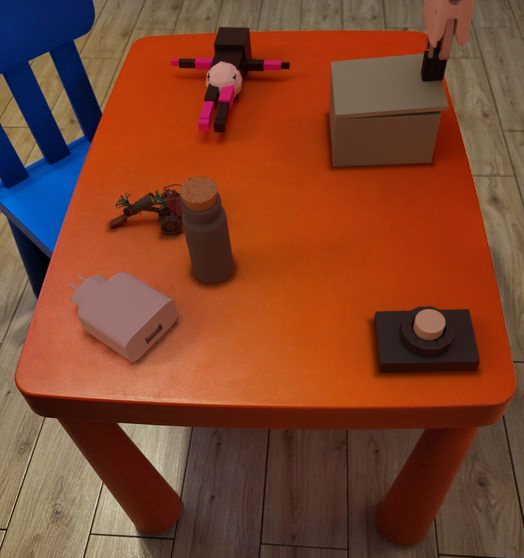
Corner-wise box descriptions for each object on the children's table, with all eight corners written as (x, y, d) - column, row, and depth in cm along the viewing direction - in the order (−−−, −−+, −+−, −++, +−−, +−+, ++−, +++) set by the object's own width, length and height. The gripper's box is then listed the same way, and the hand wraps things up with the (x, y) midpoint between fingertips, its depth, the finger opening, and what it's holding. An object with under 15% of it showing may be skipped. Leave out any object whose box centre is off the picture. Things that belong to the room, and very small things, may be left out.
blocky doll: (294, 59, 115) (293, 25, 109) (277, 146, 102) (275, 113, 96) (181, 56, 118) (175, 23, 112) (151, 141, 104) (142, 108, 99)
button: (440, 316, 76) (443, 308, 75) (444, 340, 74) (447, 332, 73) (411, 317, 77) (413, 309, 75) (415, 341, 75) (417, 333, 73)
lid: (434, 56, 96) (435, 52, 96) (448, 110, 89) (448, 105, 88) (330, 66, 98) (330, 61, 97) (335, 119, 91) (335, 114, 90)
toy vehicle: (209, 218, 90) (179, 185, 84) (128, 257, 95) (95, 228, 89) (208, 187, 93) (179, 153, 88) (130, 226, 99) (98, 196, 93)
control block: (465, 318, 80) (472, 300, 77) (476, 370, 76) (483, 353, 73) (373, 321, 81) (376, 302, 78) (379, 372, 77) (382, 355, 73)
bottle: (233, 284, 86) (220, 205, 73) (191, 284, 86) (172, 206, 74) (234, 252, 89) (223, 172, 77) (195, 253, 90) (177, 173, 77)
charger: (102, 271, 89) (179, 318, 83) (56, 313, 85) (133, 365, 79) (93, 249, 85) (173, 297, 79) (43, 292, 81) (124, 345, 76)
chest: (420, 109, 104) (428, 61, 97) (431, 162, 97) (441, 115, 90) (329, 113, 105) (330, 66, 98) (333, 166, 98) (335, 119, 91)
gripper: (499, -27, 73) (465, 107, 88) (476, -84, 81) (449, 48, 96) (435, -24, 73) (412, 110, 88) (419, -81, 81) (401, 50, 97)
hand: (431, 77), depth 92 cm, fingers closed
